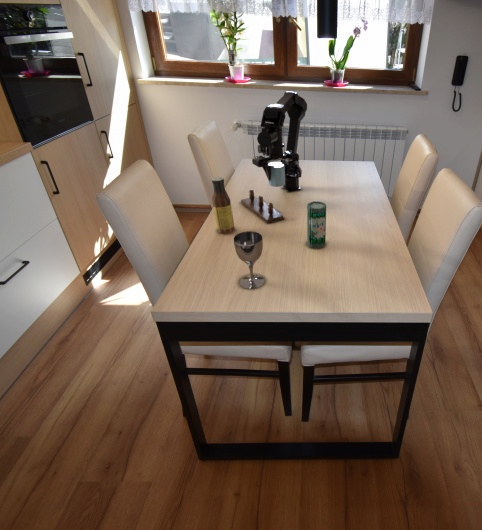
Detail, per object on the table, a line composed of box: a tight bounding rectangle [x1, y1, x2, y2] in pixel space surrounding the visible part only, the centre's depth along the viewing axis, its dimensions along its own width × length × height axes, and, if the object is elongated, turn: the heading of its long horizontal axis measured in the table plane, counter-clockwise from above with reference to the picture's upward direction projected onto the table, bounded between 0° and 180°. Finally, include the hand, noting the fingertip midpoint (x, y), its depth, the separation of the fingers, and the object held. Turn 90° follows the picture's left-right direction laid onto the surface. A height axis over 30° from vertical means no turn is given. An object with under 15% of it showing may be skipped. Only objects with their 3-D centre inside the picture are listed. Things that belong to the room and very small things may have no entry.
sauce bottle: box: [211, 176, 235, 234], centre depth 138 cm, size 7×6×20 cm
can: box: [306, 200, 327, 250], centre depth 133 cm, size 6×6×15 cm
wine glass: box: [233, 230, 265, 290], centre depth 112 cm, size 8×8×15 cm
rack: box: [240, 188, 284, 224], centre depth 156 cm, size 7×23×6 cm, turn 37°
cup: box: [268, 161, 286, 188], centre depth 159 cm, size 7×7×8 cm
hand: (277, 179), depth 160 cm, fingers closed on cup, 7 cm apart
